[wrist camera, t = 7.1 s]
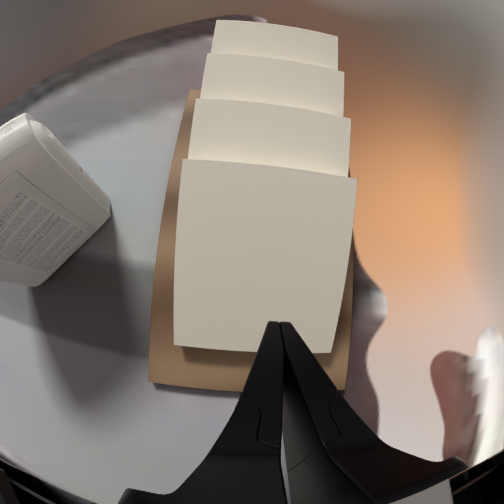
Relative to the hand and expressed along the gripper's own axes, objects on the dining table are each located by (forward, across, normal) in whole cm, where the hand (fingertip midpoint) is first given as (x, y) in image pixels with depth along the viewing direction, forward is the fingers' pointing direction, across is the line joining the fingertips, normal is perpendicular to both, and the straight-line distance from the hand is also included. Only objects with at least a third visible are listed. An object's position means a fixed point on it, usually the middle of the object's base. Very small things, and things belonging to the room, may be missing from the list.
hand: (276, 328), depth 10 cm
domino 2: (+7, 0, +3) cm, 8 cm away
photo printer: (+10, +16, +3) cm, 19 cm away
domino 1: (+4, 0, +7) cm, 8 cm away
